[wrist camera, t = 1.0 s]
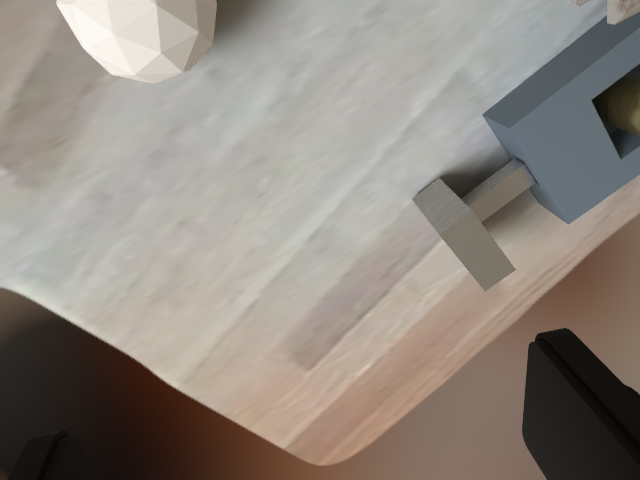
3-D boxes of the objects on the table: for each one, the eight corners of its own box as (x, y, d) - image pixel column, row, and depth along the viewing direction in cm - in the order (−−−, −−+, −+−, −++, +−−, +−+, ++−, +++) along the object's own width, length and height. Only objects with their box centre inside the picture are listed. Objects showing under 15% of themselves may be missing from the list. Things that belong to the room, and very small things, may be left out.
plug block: (511, 121, 33) (559, 144, 28) (547, 180, 36) (598, 212, 30) (412, 199, 35) (439, 234, 30) (452, 250, 38) (485, 291, 32)
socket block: (629, -3, 31) (678, -3, 27) (673, 105, 35) (720, 117, 31) (482, 114, 33) (509, 128, 30) (538, 202, 37) (568, 224, 34)
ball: (194, 22, 31) (232, 105, 27) (59, 24, 28) (83, 119, 24) (198, -110, 25) (248, -23, 21) (25, -127, 21) (52, -28, 18)
